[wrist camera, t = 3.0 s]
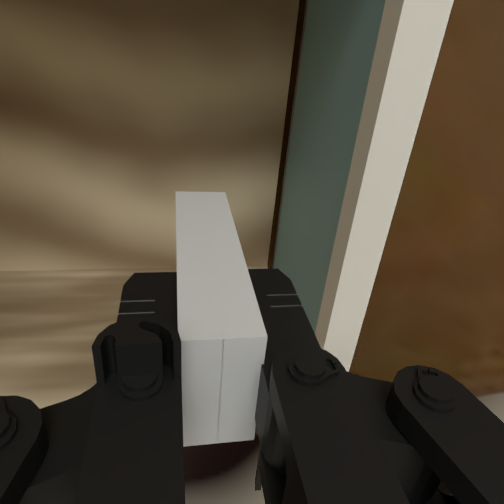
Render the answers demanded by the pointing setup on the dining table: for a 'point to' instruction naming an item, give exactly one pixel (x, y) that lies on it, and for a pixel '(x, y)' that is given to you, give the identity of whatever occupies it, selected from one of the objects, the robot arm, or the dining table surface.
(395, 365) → the dining table surface
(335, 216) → the light blue flat panel
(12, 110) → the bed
